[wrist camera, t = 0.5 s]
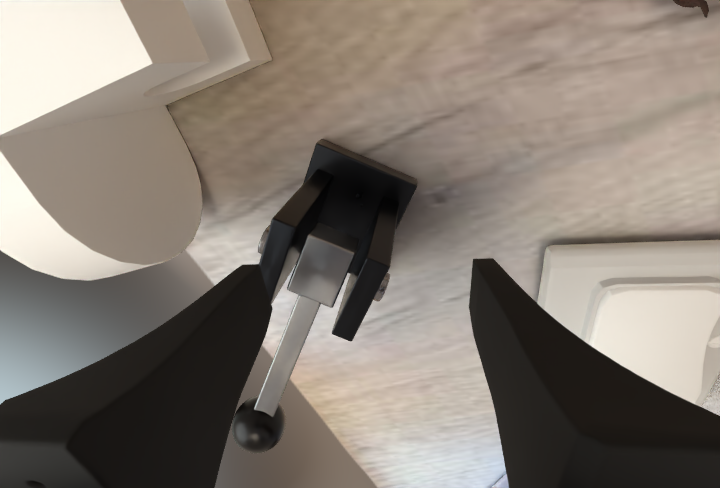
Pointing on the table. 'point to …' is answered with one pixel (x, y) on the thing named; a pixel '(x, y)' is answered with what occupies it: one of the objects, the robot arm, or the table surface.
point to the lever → (295, 333)
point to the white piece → (107, 126)
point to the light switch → (642, 307)
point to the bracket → (341, 225)
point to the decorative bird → (694, 4)
